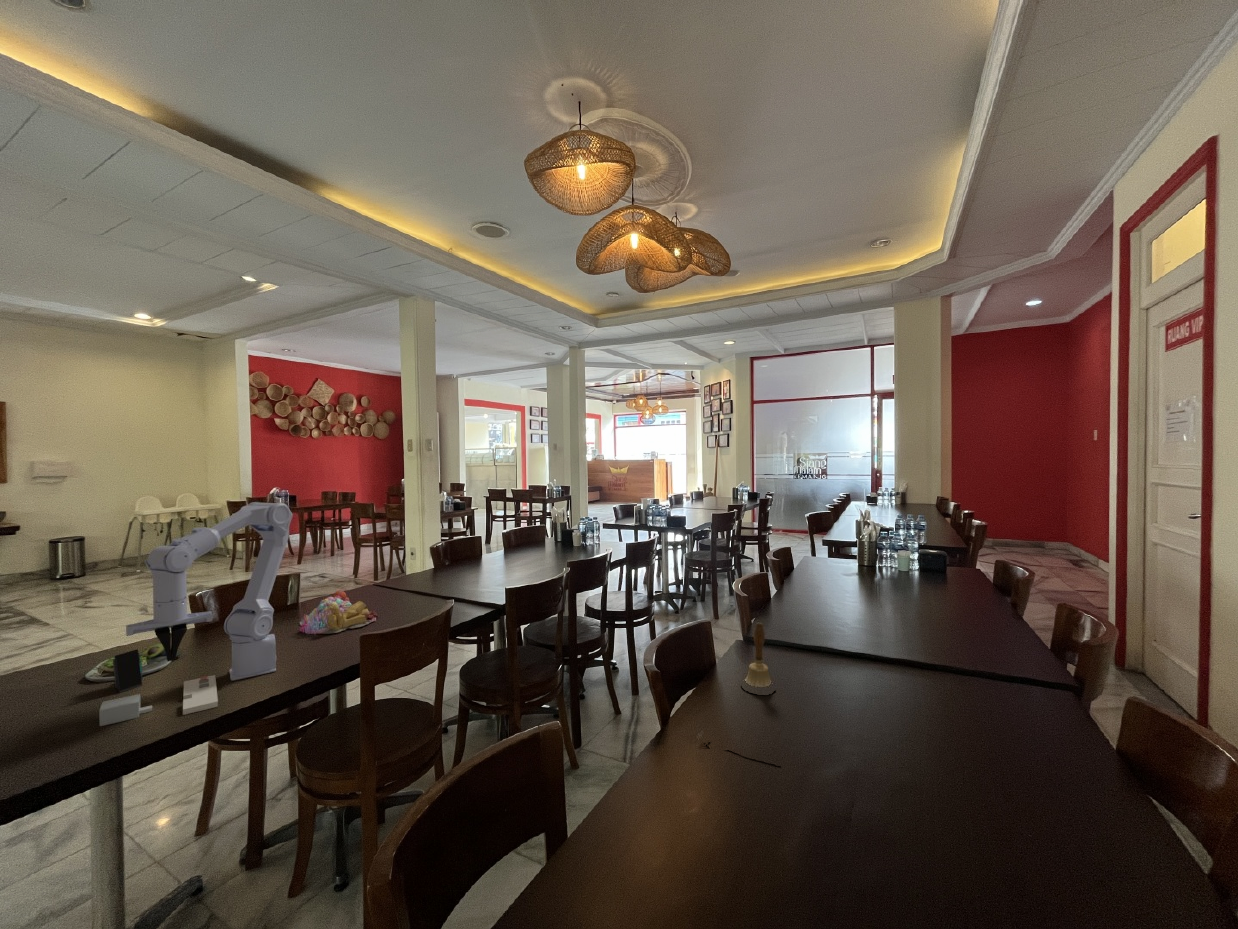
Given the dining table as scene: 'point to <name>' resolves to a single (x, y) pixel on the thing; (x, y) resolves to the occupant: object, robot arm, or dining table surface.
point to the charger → (121, 709)
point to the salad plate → (149, 659)
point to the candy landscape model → (336, 615)
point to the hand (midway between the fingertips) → (171, 659)
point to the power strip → (200, 694)
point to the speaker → (127, 670)
